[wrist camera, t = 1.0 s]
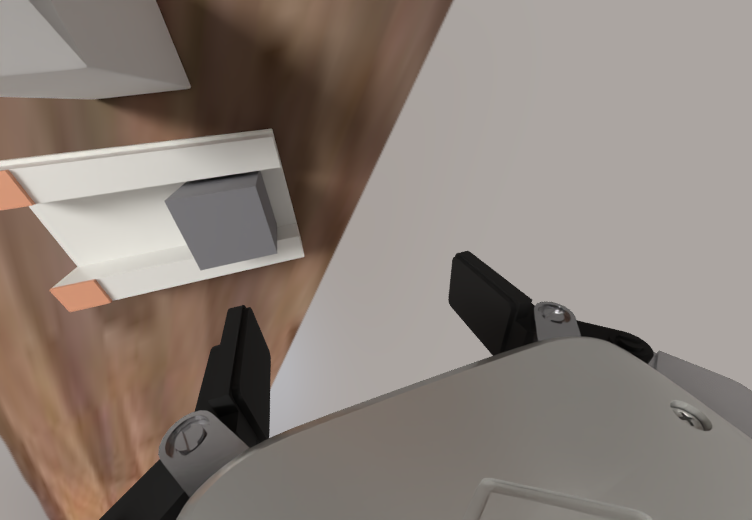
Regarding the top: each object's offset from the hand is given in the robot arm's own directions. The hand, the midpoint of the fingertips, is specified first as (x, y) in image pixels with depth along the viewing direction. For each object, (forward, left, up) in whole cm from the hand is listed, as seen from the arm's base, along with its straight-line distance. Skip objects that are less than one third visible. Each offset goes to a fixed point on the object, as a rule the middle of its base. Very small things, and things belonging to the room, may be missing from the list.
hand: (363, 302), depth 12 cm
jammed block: (+8, 0, -19) cm, 21 cm away
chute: (+13, 0, -20) cm, 24 cm away
